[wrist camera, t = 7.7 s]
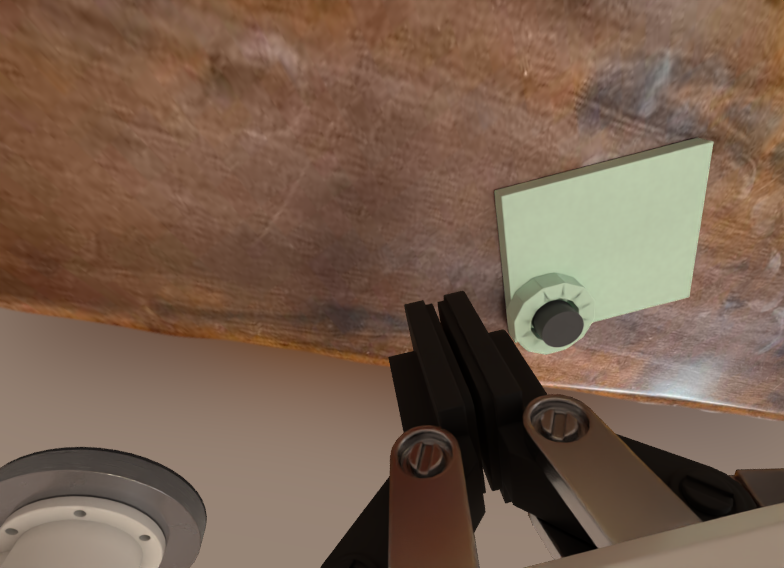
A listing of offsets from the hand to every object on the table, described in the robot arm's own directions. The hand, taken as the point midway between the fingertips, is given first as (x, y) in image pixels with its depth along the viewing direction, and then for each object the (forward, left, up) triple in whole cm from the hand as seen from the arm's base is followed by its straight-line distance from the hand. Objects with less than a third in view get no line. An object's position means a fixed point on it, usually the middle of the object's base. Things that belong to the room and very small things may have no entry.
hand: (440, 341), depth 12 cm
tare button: (+10, -12, -14) cm, 21 cm away
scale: (+14, -9, -17) cm, 24 cm away
